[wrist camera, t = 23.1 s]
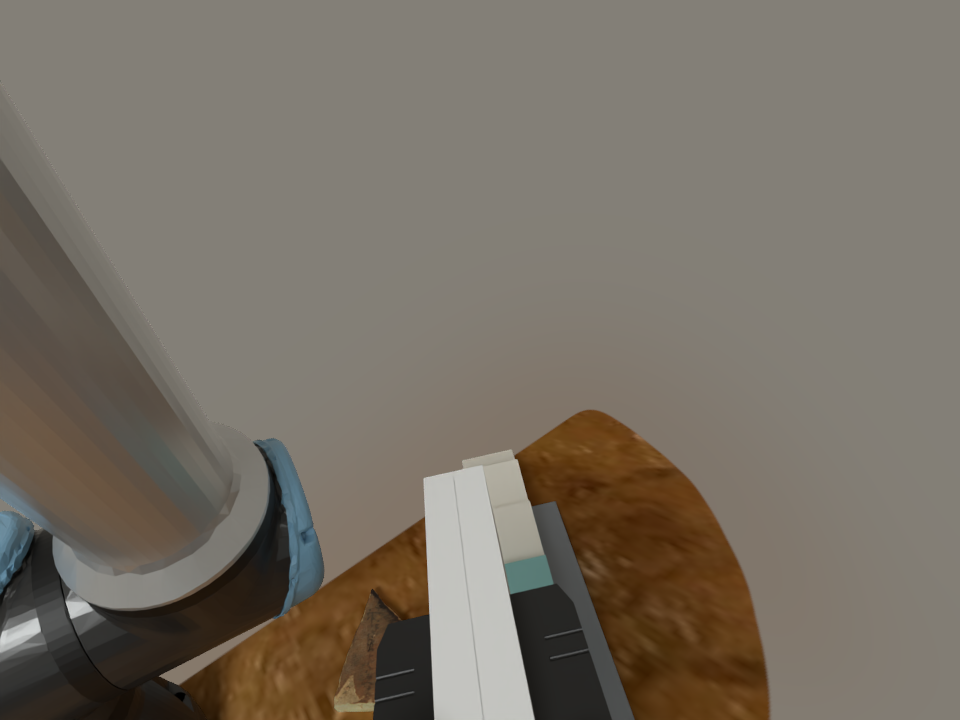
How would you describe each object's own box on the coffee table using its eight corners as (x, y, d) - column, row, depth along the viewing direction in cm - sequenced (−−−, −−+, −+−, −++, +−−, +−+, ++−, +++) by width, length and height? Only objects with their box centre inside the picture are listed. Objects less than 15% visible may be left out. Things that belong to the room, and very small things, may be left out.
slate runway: (476, 865, 33) (473, 857, 33) (446, 533, 58) (444, 526, 58) (668, 818, 34) (667, 810, 33) (556, 508, 58) (555, 501, 58)
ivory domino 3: (488, 636, 44) (467, 514, 51) (491, 644, 45) (470, 524, 53) (561, 619, 44) (529, 500, 52) (562, 627, 45) (531, 510, 53)
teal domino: (500, 722, 38) (475, 570, 46) (503, 728, 39) (478, 580, 47) (586, 702, 38) (545, 554, 46) (586, 709, 39) (546, 564, 47)
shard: (375, 599, 53) (370, 586, 52) (452, 598, 51) (448, 585, 50) (333, 716, 43) (326, 702, 43) (425, 720, 42) (420, 706, 41)
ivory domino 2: (478, 573, 49) (460, 471, 57) (481, 581, 50) (463, 481, 58) (544, 558, 49) (517, 459, 57) (544, 567, 51) (518, 468, 58)
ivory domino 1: (471, 526, 54) (461, 460, 64) (475, 539, 55) (464, 472, 65) (530, 513, 55) (511, 449, 64) (533, 526, 55) (514, 461, 65)
